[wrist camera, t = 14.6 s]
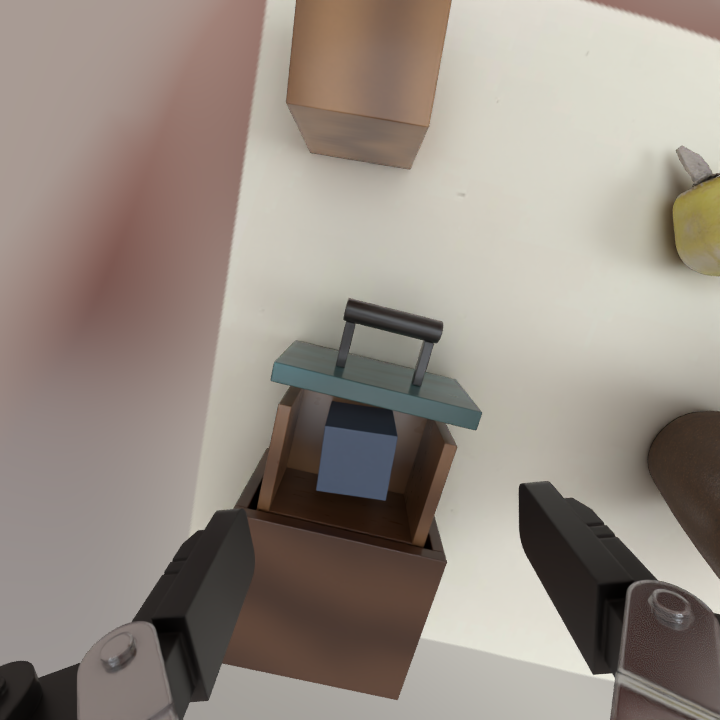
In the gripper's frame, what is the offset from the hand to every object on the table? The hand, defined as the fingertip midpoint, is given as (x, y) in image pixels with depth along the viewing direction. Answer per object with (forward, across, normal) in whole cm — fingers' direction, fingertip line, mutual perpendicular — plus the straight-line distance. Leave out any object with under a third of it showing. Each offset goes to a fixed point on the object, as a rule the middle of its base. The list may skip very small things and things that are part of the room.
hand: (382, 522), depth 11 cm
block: (+17, +2, +5) cm, 18 cm away
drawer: (+18, +1, +3) cm, 18 cm away
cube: (+19, -2, -18) cm, 26 cm away
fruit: (+19, -24, -8) cm, 31 cm away
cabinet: (+19, +5, +14) cm, 24 cm away
